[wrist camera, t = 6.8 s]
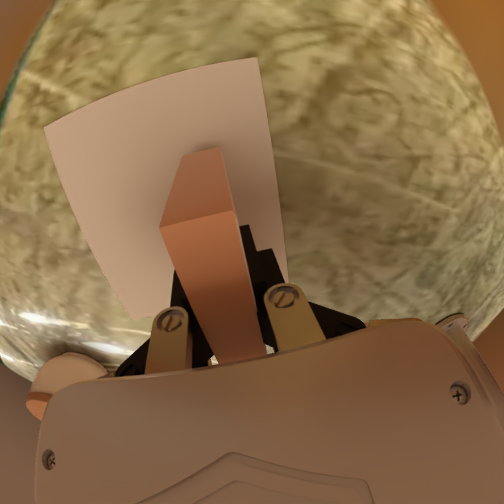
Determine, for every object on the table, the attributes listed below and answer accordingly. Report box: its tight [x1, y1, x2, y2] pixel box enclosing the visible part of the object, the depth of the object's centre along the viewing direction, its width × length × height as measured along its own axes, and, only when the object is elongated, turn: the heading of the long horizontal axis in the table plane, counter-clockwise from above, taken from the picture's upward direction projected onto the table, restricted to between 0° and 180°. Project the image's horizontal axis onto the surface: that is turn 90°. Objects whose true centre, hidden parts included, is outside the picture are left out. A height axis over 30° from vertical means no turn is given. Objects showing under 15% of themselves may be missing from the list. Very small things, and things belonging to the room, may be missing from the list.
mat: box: [44, 57, 289, 320], centre depth 16 cm, size 16×13×1 cm
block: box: [159, 147, 267, 364], centre depth 12 cm, size 9×2×7 cm, turn 9°
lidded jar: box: [26, 352, 108, 421], centre depth 21 cm, size 11×11×9 cm
